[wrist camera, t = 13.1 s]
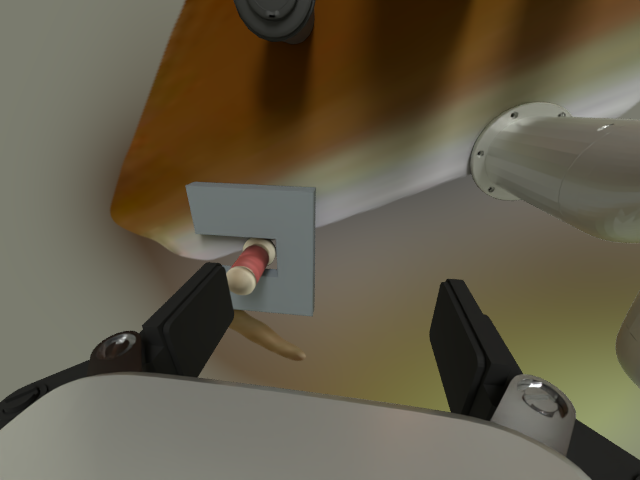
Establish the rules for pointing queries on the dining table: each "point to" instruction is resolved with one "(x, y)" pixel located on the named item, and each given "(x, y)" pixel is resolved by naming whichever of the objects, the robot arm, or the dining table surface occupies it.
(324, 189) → the dining table surface
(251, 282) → the bobbin
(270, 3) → the coffee cup
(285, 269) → the notched board
